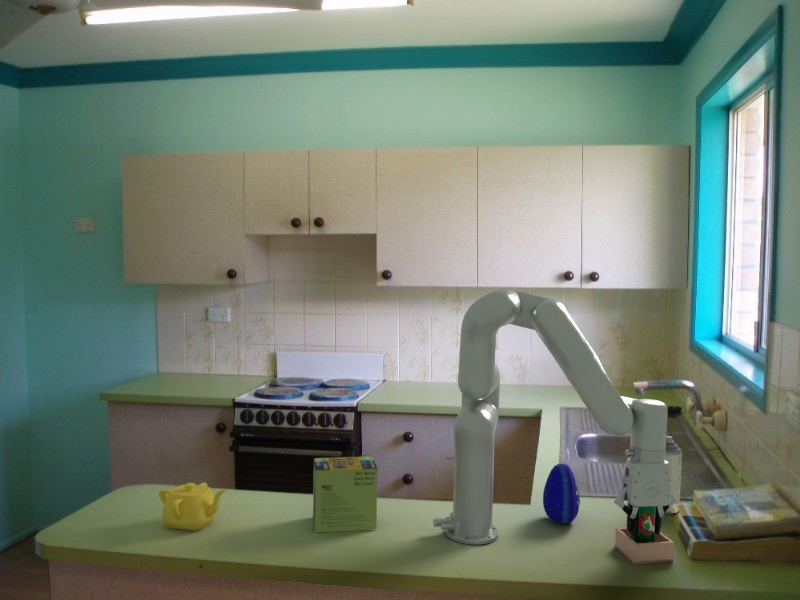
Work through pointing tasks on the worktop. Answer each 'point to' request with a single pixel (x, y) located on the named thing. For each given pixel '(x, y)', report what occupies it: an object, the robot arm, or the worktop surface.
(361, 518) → the protein box
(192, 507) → the teapot
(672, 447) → the aerosol can
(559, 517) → the ornament
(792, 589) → the worktop surface
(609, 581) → the worktop surface
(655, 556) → the box
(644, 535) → the soda can
